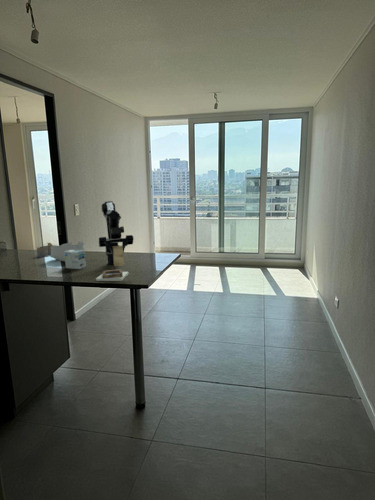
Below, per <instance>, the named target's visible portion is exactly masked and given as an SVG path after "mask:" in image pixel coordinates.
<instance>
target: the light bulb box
mask: <svg viewBox="0 0 375 500" xmlns="http://www.w3.org/2000/svg"><path fill="white" fill-rule="evenodd" d="M85 252H86V251H85V249H84V250H69V251H65V252H64V256H65V261H64V263H65V269H69V270H72V269H73V270H81V269H84V268H86V267H87V263H86V254H85Z"/></svg>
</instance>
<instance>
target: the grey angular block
mask: <svg viewBox="0 0 375 500" xmlns="http://www.w3.org/2000/svg"><path fill="white" fill-rule="evenodd" d="M69 250H84V251H85V247H84V241H81V240H80V241H77V244H73V243H72V242H68V243H67V242H66V243H62V244H61V245H53V246H51V254H50V255H49V256H50V257H51V258H53V259H55V260H56V261H59V262H65V256H64V252H65V251H69Z"/></svg>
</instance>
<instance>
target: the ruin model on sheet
mask: <svg viewBox="0 0 375 500" xmlns="http://www.w3.org/2000/svg"><path fill="white" fill-rule="evenodd" d="M51 246H54V244H52V243H51V242H47V245H44V246H40V247H36V250H37V251H36V252H37V258H43V257H44V258H45V257H49V256H51V255H50V254H51Z"/></svg>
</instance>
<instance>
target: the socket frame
mask: <svg viewBox="0 0 375 500" xmlns="http://www.w3.org/2000/svg"><path fill="white" fill-rule="evenodd" d="M122 272H123V269H111V270H103V271H102V274H103V278H114V277H123V274H122Z"/></svg>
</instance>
